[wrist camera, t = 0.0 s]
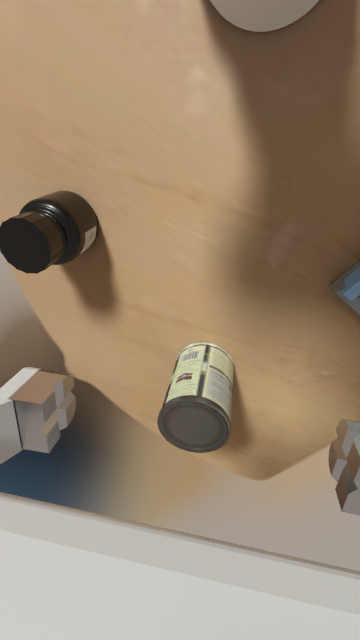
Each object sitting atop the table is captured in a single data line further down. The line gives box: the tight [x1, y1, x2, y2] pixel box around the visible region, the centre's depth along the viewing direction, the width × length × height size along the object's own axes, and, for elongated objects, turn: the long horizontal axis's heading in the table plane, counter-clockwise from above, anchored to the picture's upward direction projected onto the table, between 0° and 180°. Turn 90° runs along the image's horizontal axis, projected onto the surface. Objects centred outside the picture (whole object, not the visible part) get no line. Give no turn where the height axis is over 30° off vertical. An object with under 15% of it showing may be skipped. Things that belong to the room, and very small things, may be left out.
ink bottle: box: [0, 191, 98, 273], centre depth 44 cm, size 10×9×12 cm
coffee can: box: [157, 342, 234, 453], centre depth 52 cm, size 10×10×14 cm
